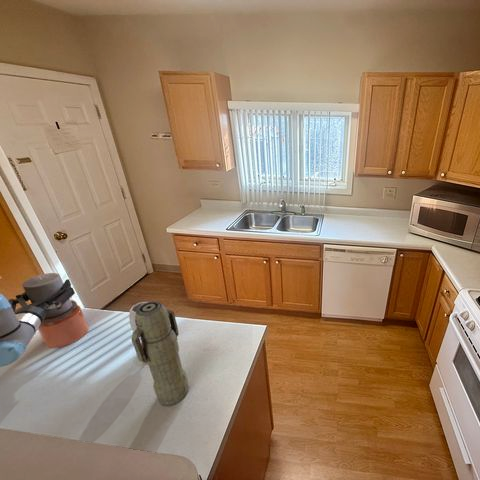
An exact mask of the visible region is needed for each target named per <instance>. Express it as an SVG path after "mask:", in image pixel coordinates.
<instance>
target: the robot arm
mask: <svg viewBox="0 0 480 480" xmlns="http://www.w3.org/2000/svg"><path fill="white" fill-rule="evenodd" d="M75 293H76V292H75V290H74V288H73V287H72V283H71V280H70V279H69V278H67V279H65V281H64V282H63V286H62V287H61V290H60V291H59V292H57V293H55V294H54V295H52V296H51V297H49V298H47V299H43V300H42V301H40V302H38V303H29V304H28V303H27V302H29V301H30V300H29V298H28V296H27V294H26V292H25V291H24V292H22V293H20V294H17V295H15V298H10V299H7V298H6V297H5V296H4V295H3V294H2V293H0V368H2V367H6V366H9V365H11V364H14V363H15V362H17V361H18V360H19V359H20V357H21V356H22V355H23V353H24V352H25V351H26V350H27V347H28V346H29V344H30V343H31V341H32V339H33V338H34V336H35V334H36V333H37V332H38V328H39V326H40V325H41V323H42V322H43V320H44V319H45V317H46V313H47V312H48V311H50V309H53V308H57V309H61V308H62V305H63V304H64V303H65V302H66V301H67V300H69V299H70V300H71V298H72V297H73V296H74V295H75ZM17 305H20V307H18V308H17Z"/></svg>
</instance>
